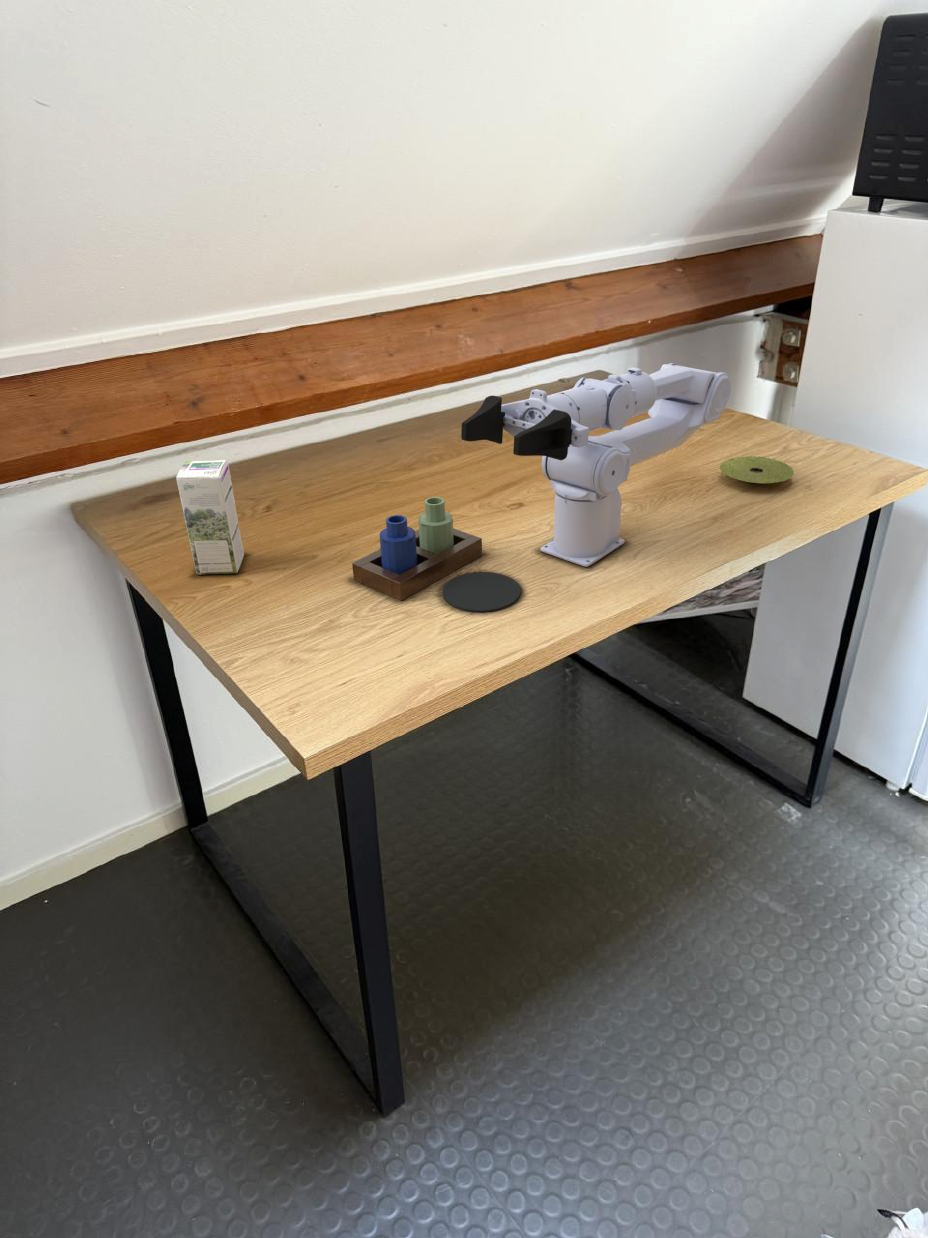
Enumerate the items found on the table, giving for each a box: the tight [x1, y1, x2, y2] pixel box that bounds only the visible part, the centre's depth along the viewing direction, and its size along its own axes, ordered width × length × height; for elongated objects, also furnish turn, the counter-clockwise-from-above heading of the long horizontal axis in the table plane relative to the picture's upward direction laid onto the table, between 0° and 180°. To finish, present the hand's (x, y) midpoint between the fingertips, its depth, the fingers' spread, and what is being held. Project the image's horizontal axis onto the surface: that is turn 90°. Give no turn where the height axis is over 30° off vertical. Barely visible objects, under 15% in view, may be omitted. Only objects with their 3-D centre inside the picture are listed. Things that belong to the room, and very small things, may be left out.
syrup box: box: [175, 459, 245, 576], centre depth 121 cm, size 6×6×14 cm
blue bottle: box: [379, 514, 417, 575], centre depth 118 cm, size 5×5×8 cm
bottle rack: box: [351, 527, 483, 601], centre depth 122 cm, size 9×16×3 cm, turn 139°
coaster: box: [442, 571, 522, 613], centre depth 116 cm, size 10×10×1 cm
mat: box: [719, 455, 795, 484], centre depth 144 cm, size 11×11×2 cm
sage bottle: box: [417, 496, 454, 554], centre depth 123 cm, size 5×5×8 cm
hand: (489, 438), depth 102 cm, fingers open, 7 cm apart
